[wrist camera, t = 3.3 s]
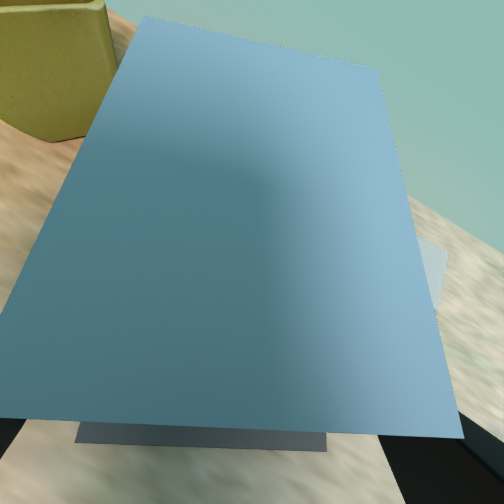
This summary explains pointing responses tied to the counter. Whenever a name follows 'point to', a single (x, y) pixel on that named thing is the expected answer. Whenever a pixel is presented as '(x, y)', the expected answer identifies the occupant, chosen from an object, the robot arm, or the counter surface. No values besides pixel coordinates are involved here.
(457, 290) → the counter surface
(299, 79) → the light blue rectangular block
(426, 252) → the usb wall charger
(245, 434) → the mat
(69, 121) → the flower pot
